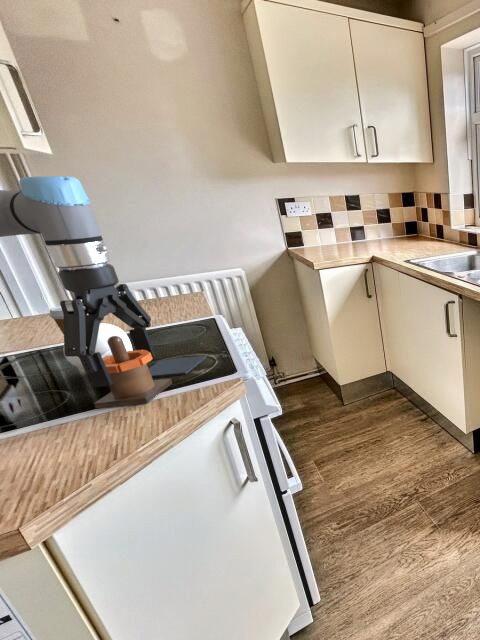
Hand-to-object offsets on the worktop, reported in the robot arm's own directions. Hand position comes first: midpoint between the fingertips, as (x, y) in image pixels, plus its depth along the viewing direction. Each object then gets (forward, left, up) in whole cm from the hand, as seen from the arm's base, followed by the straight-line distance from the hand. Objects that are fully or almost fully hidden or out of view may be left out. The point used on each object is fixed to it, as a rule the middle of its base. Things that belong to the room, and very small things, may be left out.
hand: (127, 370), depth 85 cm
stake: (0, 0, -6) cm, 6 cm away
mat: (0, +14, -6) cm, 15 cm away
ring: (0, 0, +1) cm, 1 cm away
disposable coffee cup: (-30, +34, -6) cm, 46 cm away
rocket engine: (-11, +11, -6) cm, 17 cm away
